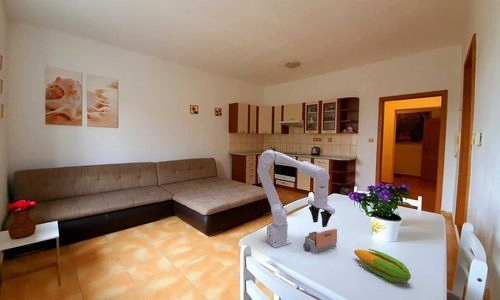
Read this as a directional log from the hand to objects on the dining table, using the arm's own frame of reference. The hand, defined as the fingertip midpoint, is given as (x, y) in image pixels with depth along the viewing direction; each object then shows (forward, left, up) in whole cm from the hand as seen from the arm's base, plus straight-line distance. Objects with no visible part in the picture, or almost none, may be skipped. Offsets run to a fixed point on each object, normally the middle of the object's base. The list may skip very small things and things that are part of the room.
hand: (319, 224), depth 99 cm
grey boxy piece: (0, -1, -10) cm, 10 cm away
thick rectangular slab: (0, -5, -7) cm, 9 cm away
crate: (-4, -1, -7) cm, 8 cm away
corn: (+7, -23, -11) cm, 27 cm away
